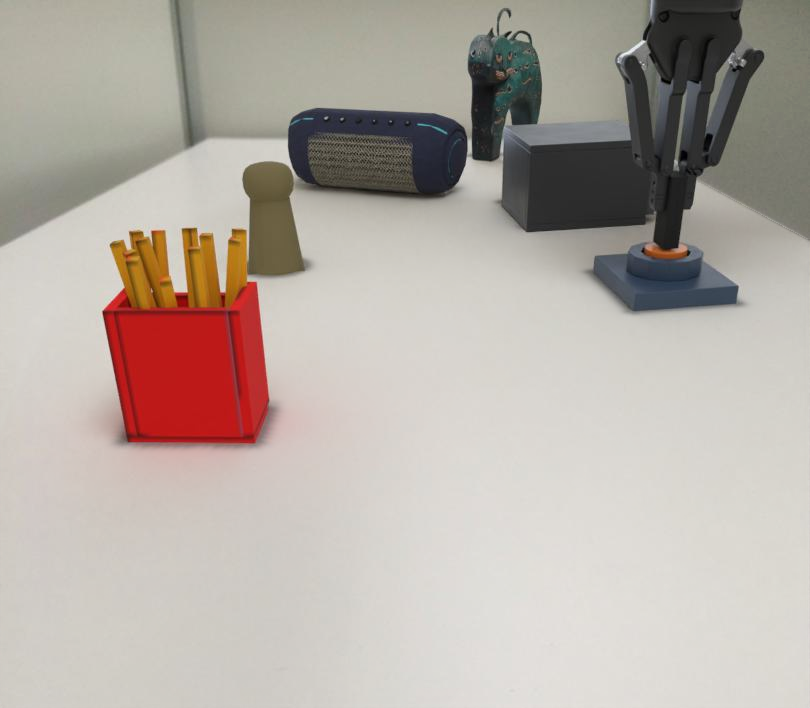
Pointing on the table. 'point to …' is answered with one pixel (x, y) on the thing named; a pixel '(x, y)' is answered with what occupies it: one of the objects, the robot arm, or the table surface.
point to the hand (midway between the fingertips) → (665, 244)
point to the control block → (664, 280)
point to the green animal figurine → (501, 87)
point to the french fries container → (187, 343)
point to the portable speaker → (377, 150)
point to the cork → (271, 220)
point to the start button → (665, 251)
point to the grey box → (572, 176)
